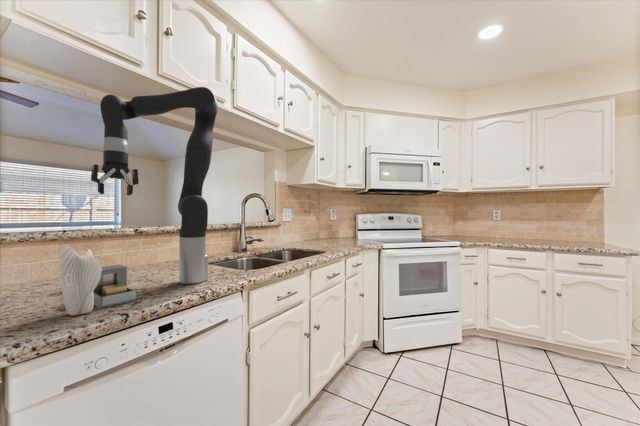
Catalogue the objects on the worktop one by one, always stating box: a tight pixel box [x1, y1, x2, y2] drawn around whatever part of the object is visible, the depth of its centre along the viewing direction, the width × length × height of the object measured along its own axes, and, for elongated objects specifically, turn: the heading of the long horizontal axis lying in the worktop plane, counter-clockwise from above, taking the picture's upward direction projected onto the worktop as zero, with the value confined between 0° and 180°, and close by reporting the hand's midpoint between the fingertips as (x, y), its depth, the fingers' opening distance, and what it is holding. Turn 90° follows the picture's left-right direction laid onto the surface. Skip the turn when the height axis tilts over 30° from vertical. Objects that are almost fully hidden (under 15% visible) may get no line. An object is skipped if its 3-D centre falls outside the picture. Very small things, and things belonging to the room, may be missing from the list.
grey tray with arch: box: [93, 264, 138, 310], centre depth 84 cm, size 9×14×9 cm, turn 54°
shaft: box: [103, 273, 114, 285], centre depth 91 cm, size 3×21×8 cm, turn 54°
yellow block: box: [102, 284, 128, 297], centre depth 82 cm, size 5×4×4 cm
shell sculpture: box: [58, 245, 103, 317], centre depth 73 cm, size 8×8×18 cm
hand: (115, 194), depth 104 cm, fingers open, 8 cm apart
